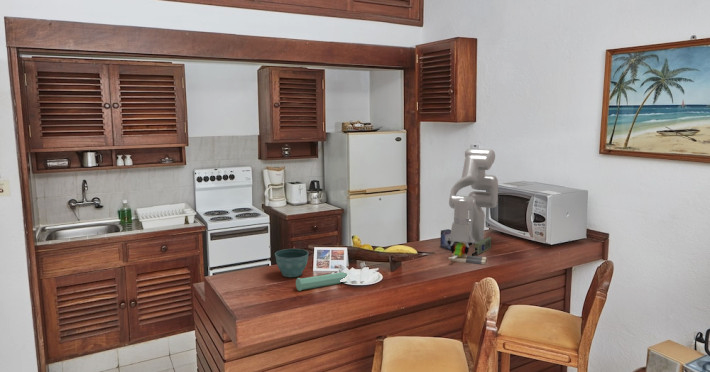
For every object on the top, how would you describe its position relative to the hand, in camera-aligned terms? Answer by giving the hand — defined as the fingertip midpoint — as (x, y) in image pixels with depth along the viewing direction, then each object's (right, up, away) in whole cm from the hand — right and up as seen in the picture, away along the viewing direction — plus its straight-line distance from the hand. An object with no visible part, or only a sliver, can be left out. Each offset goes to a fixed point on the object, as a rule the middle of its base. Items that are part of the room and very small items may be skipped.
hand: (459, 252), depth 271 cm
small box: (-1, -1, +23) cm, 23 cm away
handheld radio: (+16, -2, +17) cm, 23 cm away
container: (-71, -10, -43) cm, 84 cm away
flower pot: (-88, -7, -28) cm, 92 cm away
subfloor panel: (+5, -4, -1) cm, 6 cm away
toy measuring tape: (-1, -2, -1) cm, 3 cm away
